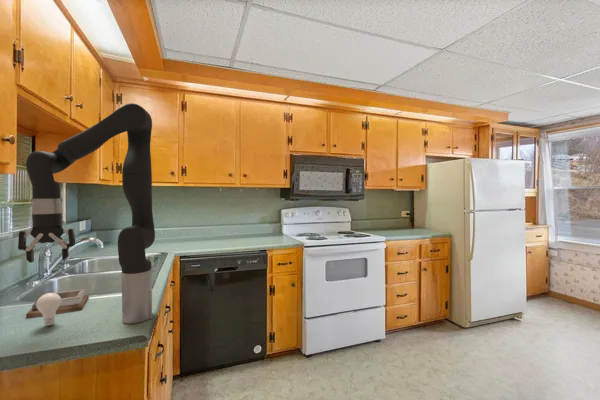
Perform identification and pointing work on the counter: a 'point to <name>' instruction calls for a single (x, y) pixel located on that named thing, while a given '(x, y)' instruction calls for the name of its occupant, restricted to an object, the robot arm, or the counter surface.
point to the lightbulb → (48, 307)
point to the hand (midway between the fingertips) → (48, 260)
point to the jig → (64, 303)
